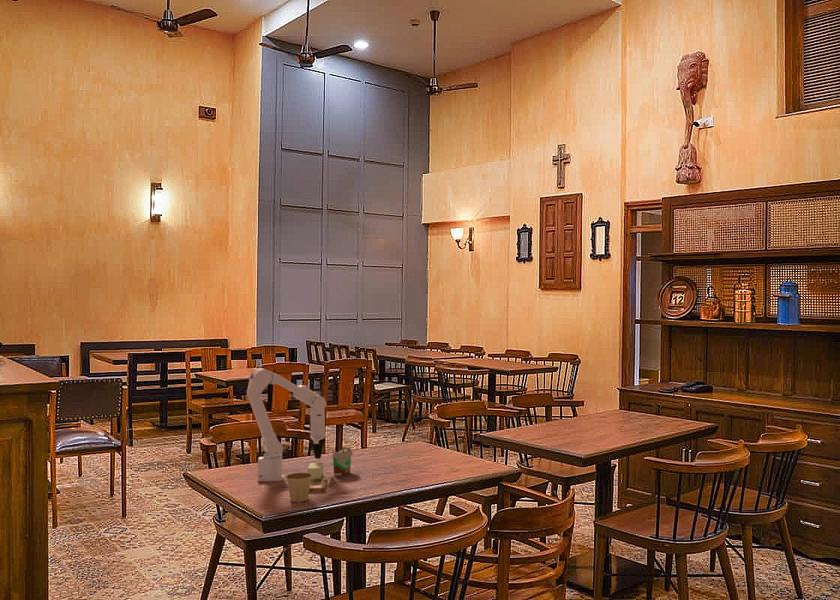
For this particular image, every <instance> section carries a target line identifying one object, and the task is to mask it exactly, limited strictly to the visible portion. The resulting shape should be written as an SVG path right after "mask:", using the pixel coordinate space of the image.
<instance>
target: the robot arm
mask: <svg viewBox="0 0 840 600" xmlns="http://www.w3.org/2000/svg"><path fill="white" fill-rule="evenodd" d="M268 385H278V386H280V387H283V388H284V389H285V390H287V391H289V392H291V393H292V395H293V397H294V398H295V399H297V400H298V401H300V402H301V403H303V404H306V405H308V406H309V407H310V413H309V414H310V436H309V438H310V439H311V441H310V445H311V447H312V450H313V455H314V458H315V459H317V460H318V459H321V457H322V454H323V447H324V443H326V438H328V437H329V435H328V434H326V427H325V426H326V420H325V419H326V418H325V417H326V416H325V415H326V413H325V408H326V407H327V404H328V403H327V401H326V398H325V397H324V396H321V395H320V394H318V392H317V391H314V390H311V389H310V388H309V386H308V385H305V384H304V385H303V384H300V385H296V384H294V383H293V382H291V381H289V380H288V379H287V378H285V377H284V376H281V374H278V373H275V372H273V371H270V370H268V369H265V368H263V367H257V368H255V369H254V370H253V371H252V372H251V374H250V376H249V380H248V386H247V390H246V396H247V398H248V402H249V404H250V407H251V409H252V411H253V415H254V418H255V420H256V423H257V426H258V429H259V431H260V433H261V439H262V449H263V451H264V454H263V456H259V457H258V459H257V480H256V481H257V482H273V481H275V482H276V481H277V482H278V481H279V482H280V481H283V479H284V477H286V475H285V474H283V452H284V446H283V444H282V442H280V440H279V439H278V437H277V435H276V434H275V431H274V429H273V426H272V423H271V419H270V418H269V414H268V413H267V409H266V407H265V404H264V401H263V398H262V396H261V394H262V393H263V392H264V389H265V388H266V387H268ZM324 438H325V439H324Z"/></svg>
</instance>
